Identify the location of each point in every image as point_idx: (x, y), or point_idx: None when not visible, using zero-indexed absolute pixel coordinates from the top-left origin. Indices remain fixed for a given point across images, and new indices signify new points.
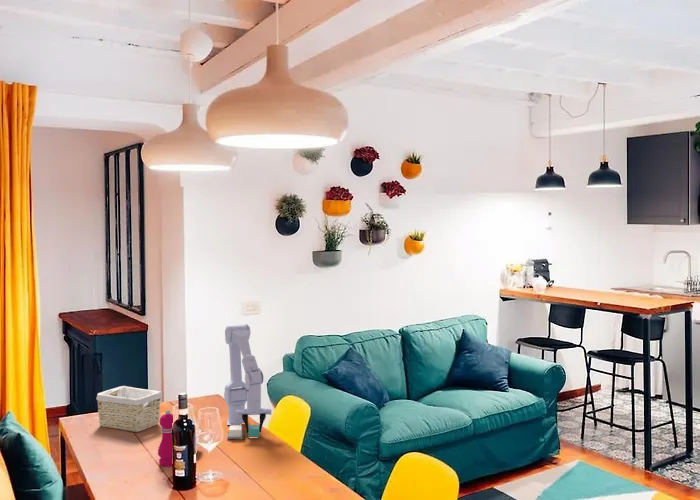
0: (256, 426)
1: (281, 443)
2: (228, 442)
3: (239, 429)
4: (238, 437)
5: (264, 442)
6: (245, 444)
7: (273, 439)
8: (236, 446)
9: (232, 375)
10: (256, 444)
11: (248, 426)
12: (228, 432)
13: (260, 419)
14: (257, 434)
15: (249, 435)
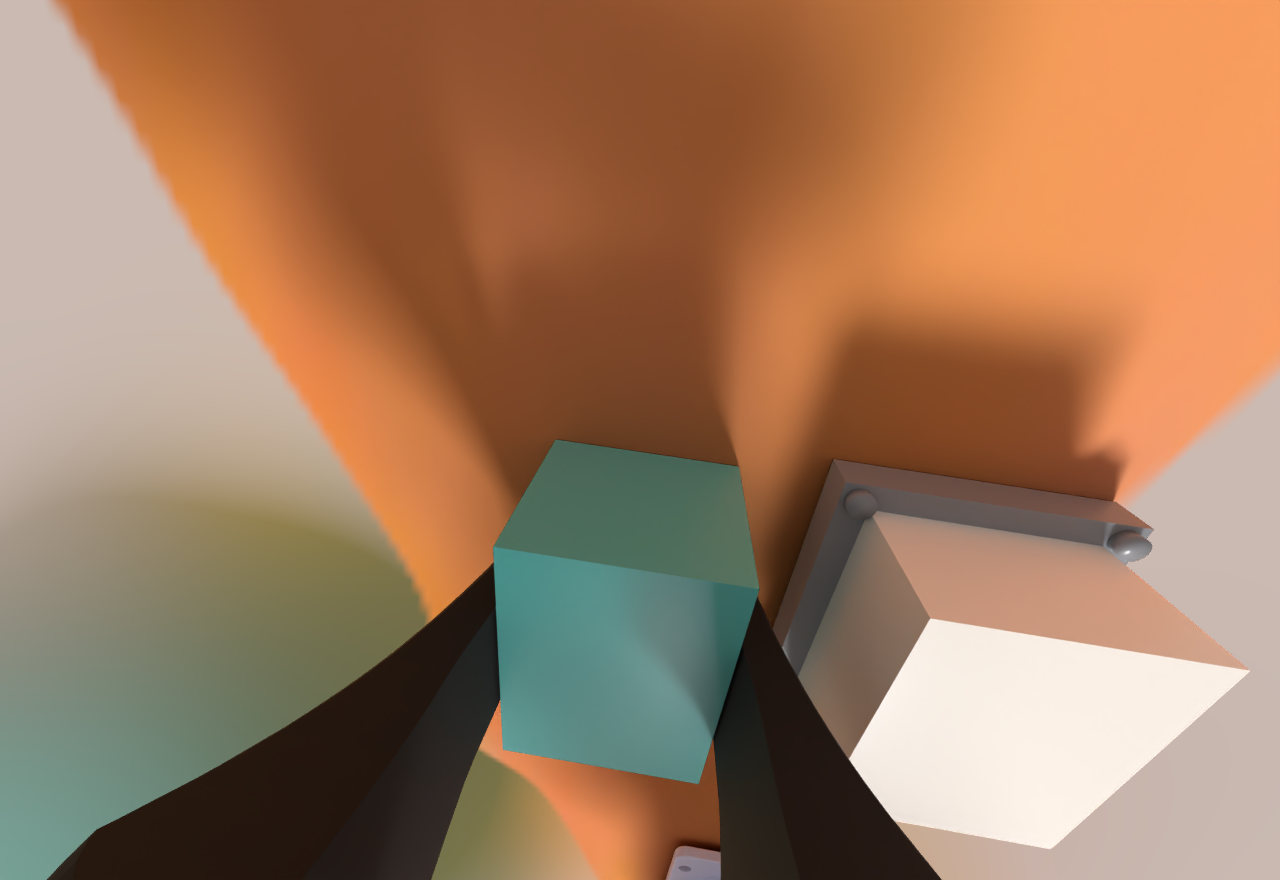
0: (554, 688)
1: (95, 25)
2: (1166, 387)
3: (974, 639)
4: (935, 495)
5: (465, 198)
6: (882, 159)
7: (316, 334)
8: (1160, 41)
9: None
10: (639, 92)
11: (713, 728)
12: None
13: (313, 826)
14: (570, 481)
15: (723, 497)
